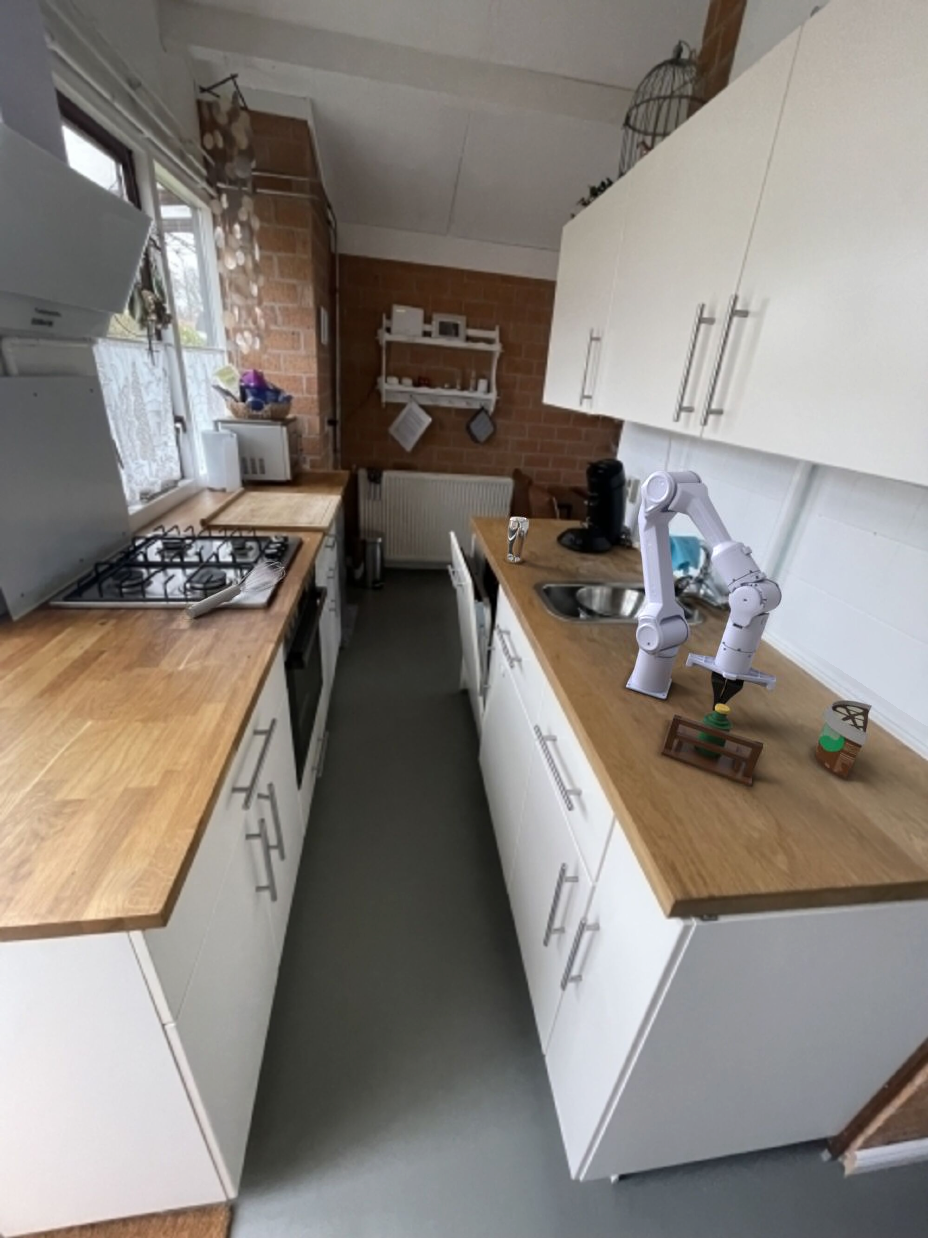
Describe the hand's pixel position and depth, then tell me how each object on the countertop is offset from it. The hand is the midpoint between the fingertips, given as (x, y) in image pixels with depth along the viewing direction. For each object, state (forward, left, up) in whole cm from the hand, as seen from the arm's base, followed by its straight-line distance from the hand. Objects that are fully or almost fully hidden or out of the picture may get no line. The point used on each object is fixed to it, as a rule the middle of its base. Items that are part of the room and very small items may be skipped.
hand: (716, 709), depth 96 cm
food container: (-1, +19, -4) cm, 19 cm away
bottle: (+10, 0, -3) cm, 10 cm away
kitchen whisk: (+13, -112, -4) cm, 113 cm away
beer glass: (-67, -70, -4) cm, 97 cm away
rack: (+10, 0, -3) cm, 11 cm away
